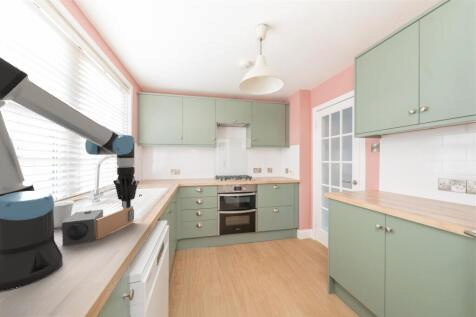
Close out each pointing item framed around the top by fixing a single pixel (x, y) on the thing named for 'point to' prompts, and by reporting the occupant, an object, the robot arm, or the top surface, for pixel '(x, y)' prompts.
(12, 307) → the top surface
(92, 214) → the camera housing
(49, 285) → the top surface
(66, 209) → the cup
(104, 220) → the door
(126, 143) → the robot arm
